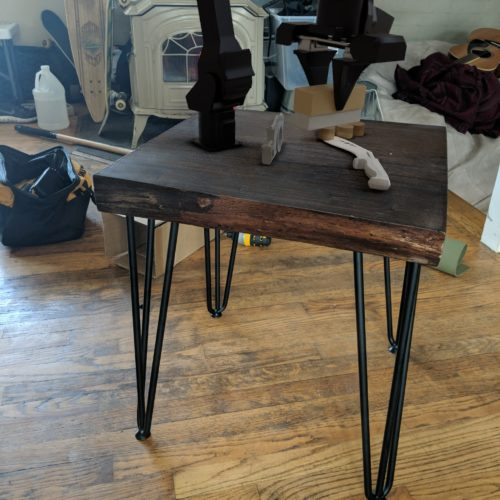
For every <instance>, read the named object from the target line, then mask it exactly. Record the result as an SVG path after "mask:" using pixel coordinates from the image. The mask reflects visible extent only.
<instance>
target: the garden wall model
mask: <svg viewBox="0 0 500 500" xmlns="http://www.w3.org/2000/svg"><path fill="white" fill-rule="evenodd" d="M285 117H286V115H285V114H283V112H280V113H276V114H274V115H271V117H270V119H269V121H268V123H267V125H266V127H264V130H266V131H267V132H266V141H263V143H262V145H261V146H260V148H261V149H262V150H261V162H262V164H263V165H268V166H269V165H271V164H272V162H273V160H274V158H275V157H276V155H277V154H278V153H280V152H281V150H282V145H283V141H284V124H285V123H284V121H285Z"/></svg>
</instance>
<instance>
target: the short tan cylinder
mask: <svg viewBox="0 0 500 500" xmlns="http://www.w3.org/2000/svg"><path fill="white" fill-rule="evenodd" d="M353 128H354V126H353V125H351V124H343V125H337V126H336V127H335V136H336V137H339V138H342V139H345V140H350V139H352V138H353V137H354V136H353Z"/></svg>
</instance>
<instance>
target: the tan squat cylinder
mask: <svg viewBox="0 0 500 500" xmlns="http://www.w3.org/2000/svg"><path fill="white" fill-rule="evenodd" d="M334 136H336V126H332V127H326V128H321V129H317V136H316V137H317V139H319V140H322V139H323V140H331V139H334ZM323 140H322V141H323Z"/></svg>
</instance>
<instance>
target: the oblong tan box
mask: <svg viewBox="0 0 500 500" xmlns="http://www.w3.org/2000/svg"><path fill="white" fill-rule="evenodd" d="M367 88H368V87H367V85H364V84H360V83H356V84H355V86H354V88H353V90H352V92H351V94H350V97H349V99H348V101H347V103H346V105H345V107H344V109H343V110H342V111H336V109H335V103H334V90H333V82H332V83H327V84H323V85H315V86H309V85H308V86H307V85H306V86H300V87H295V88H294V92H293V93H294V94H293V95H294V96H293V108H292V109H293V111H294V116H293V126H294V127H296V128H299V129H302V130H304V131H307V132H310V131H315V130H318V129H321V128H326V127H332V126H335V127H337V125H343V124H348V123H354V122H361V119H362V118H361V117H362V109H363V108H364V107H365V100H366V93H367Z"/></svg>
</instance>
